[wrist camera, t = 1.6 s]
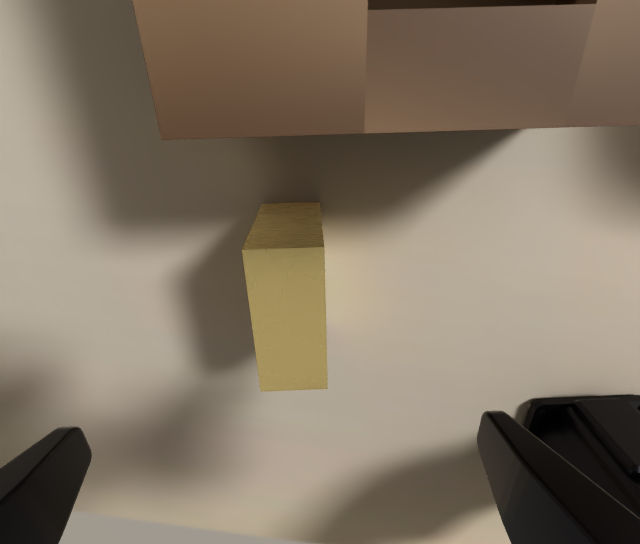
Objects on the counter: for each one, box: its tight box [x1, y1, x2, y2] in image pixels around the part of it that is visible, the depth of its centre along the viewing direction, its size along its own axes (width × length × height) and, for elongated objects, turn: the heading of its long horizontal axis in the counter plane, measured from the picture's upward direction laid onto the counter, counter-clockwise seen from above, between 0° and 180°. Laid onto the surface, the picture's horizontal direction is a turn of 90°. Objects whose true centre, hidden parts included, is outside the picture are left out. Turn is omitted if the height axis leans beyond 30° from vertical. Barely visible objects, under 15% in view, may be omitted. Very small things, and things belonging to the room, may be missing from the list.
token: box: [242, 202, 328, 391], centre depth 14 cm, size 6×2×5 cm, turn 2°
